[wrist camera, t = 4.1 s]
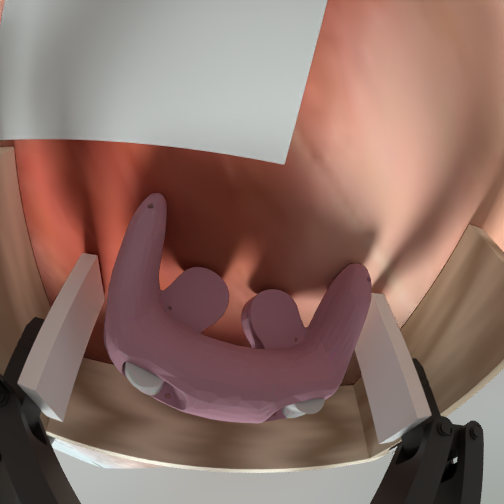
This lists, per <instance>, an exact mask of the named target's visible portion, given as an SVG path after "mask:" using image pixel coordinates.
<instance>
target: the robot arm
mask: <svg viewBox="0 0 504 504" xmlns="http://www.w3.org/2000/svg"><path fill="white" fill-rule="evenodd" d="M104 301H105V297H104V291H103V286H102V280H101V274H100V268H99V262H98V255H93V254H87V253H82V254H81V256H80V258H79V259H78V261H77V263H76V264H75V266H74V268H73V269H72V271H71V273H70V274H69V276H68V278H67V280H66V281H65V283H64V285H63V287H62V289H61V290H60V292H59V294H58V296H57V298H56V300H55V301H54V303H53V305H52V307H51V309H50V311H49V313H48V315H47V317H46V319H41V318H38V317H34V318H33V319H32V320H31V321H30V322H29V323H28V324H27V325H26V327H25V329H24V331H23V333H22V335H21V338H20V339H19V341H18V343H17V347H15V350H14V352H13V354H12V356H11V358H10V361H9V363H8V365H7V368H6V370H5V372H4V375H3V376H2V375H1V374H0V504H81V503H80V501H79V500H78V498H77V496H76V494H75V492H74V491H73V489H72V487H71V485H70V483H69V481H68V480H67V478H66V476H65V474H64V472H63V470H62V468H61V466H60V463H59V461H58V459H57V457H56V455H55V453H54V451H53V448H52V446H51V445H52V443H53V442H54V440H55V439H56V438H54V437H52V436H49V435H47V434H46V431H45V429H44V426H43V423H42V421H41V419H40V414H41V411H42V412H43V413H44V414H45V415H46V416H47V417H50V418H53V419H56V420H58V421H61V422H63V421H64V417H65V413H66V410H67V406H68V403H69V399H70V396H71V392H72V389H73V386H74V383H75V379H76V376H77V373H78V370H79V367H80V364H81V361H82V358H83V355H84V353H85V350H86V347H87V344H88V341H89V339H90V336H91V333H92V331H93V328H94V325H95V323H96V320H97V318H98V315H99V313H100V310H101V308H102V305H103V303H104ZM355 353H356V356H357V360H358V363H359V367H360V370H361V374H362V378H363V381H364V385H365V389H366V393H367V397H368V400H369V404H370V408H371V413H372V417H373V421H374V425H375V429H376V434H377V438H378V443H379V444H383V443H388V442H393V441H394V440H396V439H397V438H399V437H401V439H402V441H401V442H399V443H397V444H396V445H394V446H392V447H391V448H390V449H389V451H388V452H391V451H393V450H395V449H396V451H395V452H394V453H393V454H394V456H393V458H392V460H391V462H390V465H389V467H388V469H387V471H386V473H385V475H384V478H383V480H382V482H381V484H380V486H379V488H378V490H377V492H376V494H375V495H374V497H373V499H372V501H371V503H370V504H480V501H481V491H482V478H483V451H484V450H483V448H484V442H483V429H482V427H481V425H480V424H479V423H478V422H476V421H470V422H469V423H467V424H466V425H464V426H462V425H455V424H452V423H451V421H450V420H449V419H448V418H446V417H444V416H441V415H440V412H439V410H438V407H437V404H436V401H435V398H434V395H433V392H432V390H431V387H430V386H429V385H430V384H429V381H428V379H427V378H426V377H427V376H426V373H425V371H424V368H423V366H422V365H421V364H420V362H419V361H418V360H417V358H411V356H410V353H409V351H408V348H407V346H406V343H405V341H404V338H403V336H402V334H401V331H400V329H399V327H398V324H397V322H396V320H395V317H394V315H393V313H392V311H391V308H390V306H389V304H388V302H387V299H386V297H385V295H384V294H377V293H371V303H370V307H369V311H368V314H367V317H366V320H365V323H364V326H363V328H362V331H361V334H360V336H359V339H358V341H357V344H356V347H355ZM456 457H458V459H457V462H456V463H455V464H454V463H453V459H454V458H456Z"/></svg>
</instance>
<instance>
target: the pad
mask: <svg viewBox="0 0 504 504" xmlns="http://www.w3.org/2000/svg"><path fill="white" fill-rule="evenodd" d="M326 4H327V0H5V3H4V8H3V13H2V18H1V24H0V140H16V139H73V140H98V141H115V142H128V143H140V144H151V145H161V146H170V147H178V148H186V149H194V150H201V151H208V152H215V153H222V154H228V155H234V156H240V157H246V158H251V159H257V160H262V161H268V162H273V163H278V164H283V165H284V164H285V161H286V157H287V153H288V150H289V146H290V142H291V138H292V135H293V131H294V127H295V123H296V120H297V116H298V112H299V108H300V104H301V101H302V97H303V93H304V89H305V85H306V82H307V78H308V74H309V70H310V66H311V62H312V59H313V55H314V51H315V47H316V43H317V39H318V35H319V32H320V28H321V24H322V20H323V16H324V12H325V8H326Z"/></svg>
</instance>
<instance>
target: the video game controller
mask: <svg viewBox="0 0 504 504" xmlns="http://www.w3.org/2000/svg"><path fill="white" fill-rule="evenodd" d="M166 218H167V205H166V201H165V198H164V196H163V195H162V194H160V193H153V194H150V195H149V196H148V197H147V198H146V199H145V200H144V201H143V202H142V203H141V204H140V205H139V207H138V209H137V210H136V212H135V214H134V215H133V217H132V219H131V220H130V222H129V225H128V228H127V230H126V233H125V236H124V239H123V241H122V244H121V247H120V250H119V253H118V256H117V259H116V262H115V265H114V268H113V271H112V276H111V280H110V284H109V289H108V299H107V307H106V315H105V323H104V343H105V347H106V350H107V353H108V355H109V357H110V359H111V361H112V363H113V364H114V365H115V366H116V368H117V369H118V370H119V371H120V372H121V373H122V374H123V375H124V376H125V377H126V378H127V379H128V380H129V381H130V382H131V383H132V385H133V386H135V387H136V388H137V389H139V390H140V391H141V392H143V393H144V394H147V395H150V396H152V397H153V398H155V399H156V400H158V401H160V402H162V403H164V404H166V405H168V406H171V407H173V408H175V409H177V410H180V411H182V412H185V413H189V414H192V415H195V416H198V417H202V418H207V419H212V420H217V421H225V422H239V423H262V422H267V421H273V420H279V419H284V418H296V417H299V416H302V415H304V414H315V413H317V412H318V411H320V410H321V408H322V407H323V405H324V400H326V399H327V398H329V397H330V396H332V395H333V394H334V393H335V392H336V391H337V389H338V387H339V386H340V384H341V382H342V380H343V378H344V375H345V373H346V370H347V368H348V365H349V363H350V360H351V357H352V354H353V352H354V349H355V347H356V344H357V341H358V339H359V336H360V334H361V331H362V328H363V326H364V323H365V320H366V317H367V314H368V311H369V307H370V303H371V279H370V275H369V273H368V270H367V269H366V267H365V266H363V265H361V264H358V263H356V264H349V265H348V266H347V267H346V268H345V269H344V270H342V271H341V272H340V273H339V274H338V275H337V276H336V278H335V279H334V281H333V282H332V283H331V285H330V286H329V288H328V290H327V292H326V293H325V295H324V297H323V299H322V301H321V302H320V304H319V306H318V308H317V310H316V312H315V314H314V316H313V318H312V320H311V322H310V324H309V326H308V327H307V328H305V327H304V326H303V323H302V321H301V318H300V315H299V311H298V308H297V305H296V303H295V302H294V300H293V299H292V297H291V296H290V295H288V294H287V293H285V292H284V291H281V290H277V289H268V290H264V291H262V292H260V293H259V294H257V295H256V296H254V297H253V298H252V299H250V300H249V301H248V302H247V303H246V304H245V306H244V308H243V310H242V314H241V323H242V327H243V331H244V333H245V335H246V337H247V339H248V341H249V342H250V344H251V346H252V348H250V347H244V346H238V345H234V344H231V343H227V342H224V341H221V340H217V339H214V338H211V337H208V336H206V335H203V334H200V333H201V332H202V331H203V330H205V329H206V328H208V327H209V326H211V325H213V324H214V323H216V322H217V321H218V320H219V319H220V318H221V317H222V316H223V314H224V312H225V311H226V309H227V306H228V303H229V291H228V288H227V285H226V283H225V282H224V281H223V279H222V278H221V277H220V276H219V275H218V274H216V273H215V272H213V271H211V270H209V269H207V268H203V267H192V268H190V269H187V270H185V271H184V272H183V273H182V274H181V275H180V276H179V277H178V278H177V279H176V280H175V281H174V282H173V283H172V284H171V285H170V286H169V287H168V288H166V289H165V290H164V291H162V290H160V286H159V269H160V263H161V257H162V251H163V245H164V239H165V231H166Z"/></svg>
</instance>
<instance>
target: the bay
mask: <svg viewBox="0 0 504 504" xmlns="http://www.w3.org/2000/svg"><path fill="white" fill-rule="evenodd" d="M50 309H51V307H50V304H49V301H48V299H47V296H46V293H45V290H44V287H43V284H42V281H41V278H40V275H39V272H38V268H37V265H36V262H35V258H34V255H33V251H32V247H31V243H30V239H29V235H28V231H27V227H26V222H25V218H24V213H23V208H22V203H21V197H20V191H19V185H18V178H17V171H16V162H15V153H14V147H0V374H1V375H2V376H3V375H4V372H5V370H6V368H7V365H8V363H9V361H10V358H11V356H12V354H13V352H14V350H15V347H17V343H18V341H19V339H20V338H21V335H22V333H23V331H24V329H25V327H26V325H27V324H28V323H29V322H30V321H31V320H32V319H33V318H34V317H38V318H41V319H46V317H47V315H48V313H49V311H50ZM400 331H401V334H402V336H403V338H404V341H405V343H406V346H407V348H408V351H409V353H410V356H411V358H417V360H418V361H419V362H420V364H421V365H422V366H423V368H424V371H425V373H426V376H427V377H426V378H427V379H428V381H429V384H430V385H429V386H430V387H431V390H432V392H433V395H434V398H435V401H436V404H437V407H438V410H439V412H440V415H441V416H444V417H446V416H448V415H449V414H450V413H452V412H453V411H454V410H456V409H457V408H458V407H460V406H461V405H462V404H463V403H465V402H466V401H467V400H468V399H470V398H471V397H472V396H473V395H474V394H476V393H477V392H478V391H479V390H480V389H482V388H483V387H484V386H485V385H486V384H487V383H488V382H490V381H491V380H492V379H493V378H494V377H495V376H496V375H497V374H498V373H499V372H500V371H501V370H503V368H504V252H503V251H502V250H501V249H500V248H499V246H498V245H497V244H496V243H495V242H494V241H493V240H492V239H491V238H490V237H489V235H488V234H487V233H486V232H485V231H484V230H483V229H481V228H479V227H476V226H473V225H471V224H469V225H468V227H467V229H466V230H465V232H464V234H463V236H462V238H461V240H460V241H459V243H458V245H457V247H456V248H455V250H454V252H453V253H452V255H451V257H450V258H449V260H448V262H447V263H446V265H445V267H444V268H443V270H442V271H441V273H440V274H439V276H438V278H437V279H436V281H435V282H434V284H433V285H432V287H431V288H430V290H429V291H428V293H427V294H426V296H425V297H424V298H423V300H422V301H421V303H420V304H419V305H418V307H417V308H416V310H415V311H414V312H413V314H412V315H411V316H410V318H409V319H408V320H407V322H406V323H405V324H404V326H403V327H402V328H401V330H400ZM40 419H41V421H42V423H43V426H44V429H45V431H46V434H47V435H49V436H52V437H54V438H57V439H60V440H63V441H65V442H68V443H71V444H74V445H77V446H81V447H84V448H87V449H90V450H94V451H97V452H101V453H105V454H109V455H113V456H117V457H121V458H125V459H130V460H135V461H139V462H145V463H150V464H156V465H162V466H169V467H176V468H184V469H193V470H203V471H217V472H239V473H240V472H241V473H243V472H244V473H270V472H292V471H305V470H316V469H324V468H333V467H340V466H347V465H353V464H358V463H364V462H369V461H374V460H376V459H378V458H380V457H382V456H384V455H386V454H388V453H389V452H388V451H389V449H390V448H391V447H392V446H394V445H396V444H397V443H399V442H401V441H402V439H401V437H399V438H397V439H396V440H394V441H393V442H388V443H383V444H379V443H378V438H377V434H376V429H375V425H374V421H373V417H372V413H371V408H370V404H369V400H368V397H367V393H366V389H365V385H364V381H363V378H362V376H361V377H360V378H359V379H358V380H357V381H356V383H355V384H354V385H344V386H339V387H338V389H337V391H336V392H335V393H334V394H333V395H332V396H330V397H329V398H327V399H326V400H324V405H323V407H322V408H321V410H320V411H318V412H317V413H315V414H304V415H302V416H299V417H296V418H284V419H279V420H273V421H267V422H262V423H239V422H225V421H217V420H212V419H207V418H202V417H198V416H195V415H192V414H189V413H185V412H182V411H180V410H177V409H175V408H173V407H171V406H168V405H166V404H164V403H162V402H160V401H158V400H156V399H155V398H153V397H152V396H150V395H147V394H144V393H143V392H141V391H140V390H139V389H137V388H136V387H135V386H133V385H132V383H131V382H130V381H129V380H128V379H127V378H126V377H125V376H124V375H123V374H122V373H121V372H120V371H119V370H118V369H117V368H116V366H115V365H113V364H108V363H104V362H100V361H95V360H91V359H87V358H82V361H81V364H80V367H79V370H78V373H77V376H76V379H75V383H74V386H73V389H72V392H71V396H70V399H69V403H68V406H67V410H66V413H65V417H64V421H63V422H61V421H58V420H56V419H53V418H50V417H47V416H46V415H45V414H44V413H43V412H42V411H41V414H40Z"/></svg>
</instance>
